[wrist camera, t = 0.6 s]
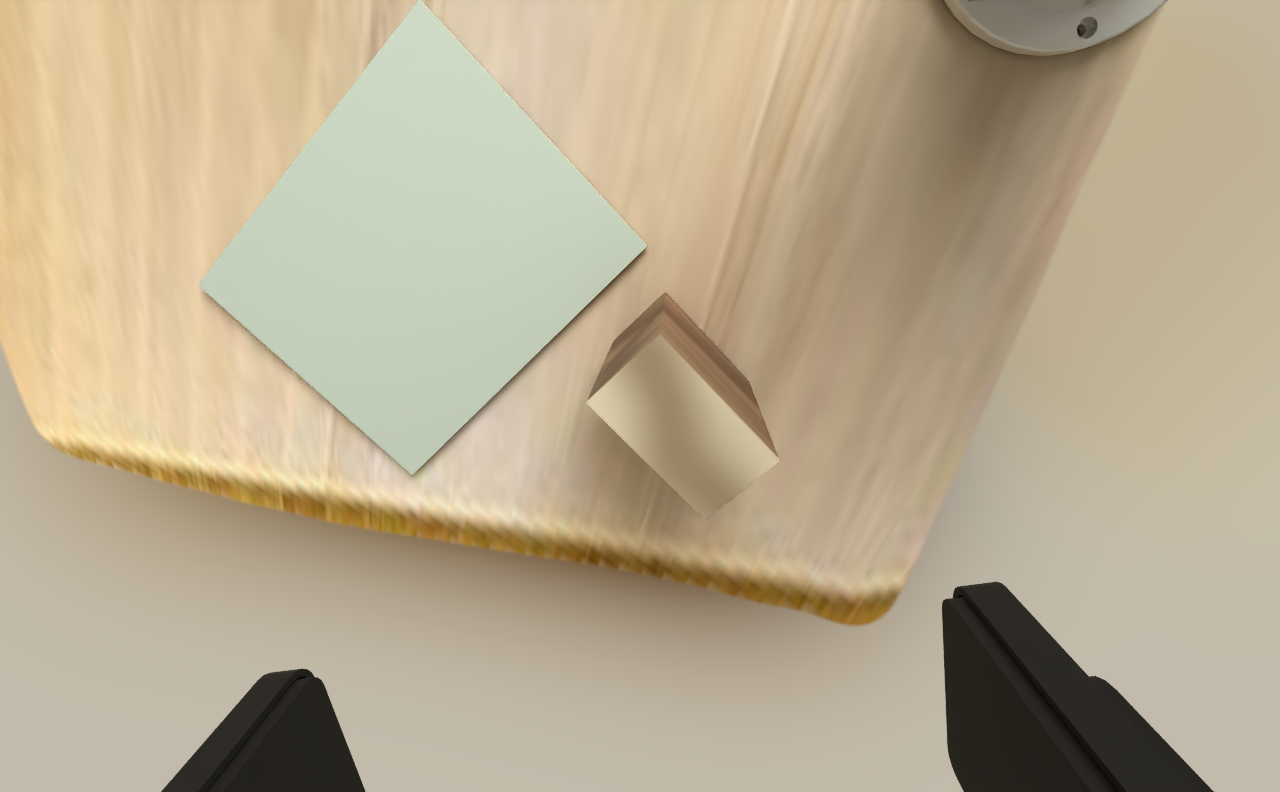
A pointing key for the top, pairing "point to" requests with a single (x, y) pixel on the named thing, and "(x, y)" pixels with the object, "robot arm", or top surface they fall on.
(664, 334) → the walnut slab
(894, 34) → the top surface
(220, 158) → the top surface
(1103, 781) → the robot arm
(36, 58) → the top surface
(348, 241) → the sage mat
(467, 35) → the top surface
